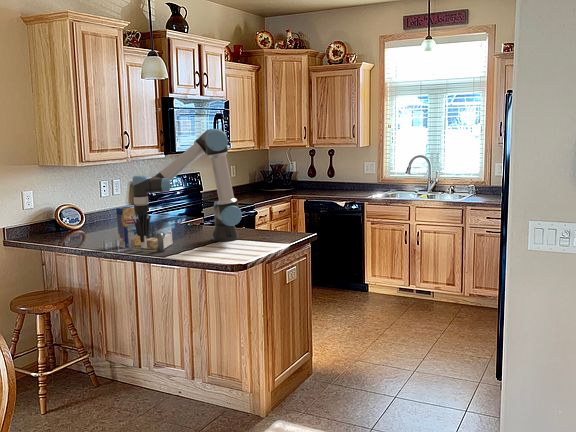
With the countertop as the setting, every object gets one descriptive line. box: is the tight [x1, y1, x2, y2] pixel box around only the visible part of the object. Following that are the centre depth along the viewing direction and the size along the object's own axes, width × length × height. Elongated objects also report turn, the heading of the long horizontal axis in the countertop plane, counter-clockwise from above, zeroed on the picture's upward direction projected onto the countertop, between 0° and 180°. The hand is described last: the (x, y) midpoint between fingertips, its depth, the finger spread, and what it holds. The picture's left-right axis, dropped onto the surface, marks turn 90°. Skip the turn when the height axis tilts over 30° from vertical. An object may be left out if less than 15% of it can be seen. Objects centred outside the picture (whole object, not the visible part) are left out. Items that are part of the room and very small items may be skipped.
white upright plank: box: [163, 231, 173, 250], centre depth 322 cm, size 15×2×7 cm, turn 174°
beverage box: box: [115, 205, 141, 249], centre depth 330 cm, size 7×11×22 cm, turn 138°
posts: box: [133, 232, 165, 253], centre depth 315 cm, size 19×3×10 cm, turn 69°
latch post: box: [128, 232, 136, 252], centre depth 319 cm, size 2×3×10 cm, turn 159°
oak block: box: [143, 237, 158, 250], centre depth 324 cm, size 8×8×5 cm
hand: (144, 247), depth 315 cm, fingers closed
